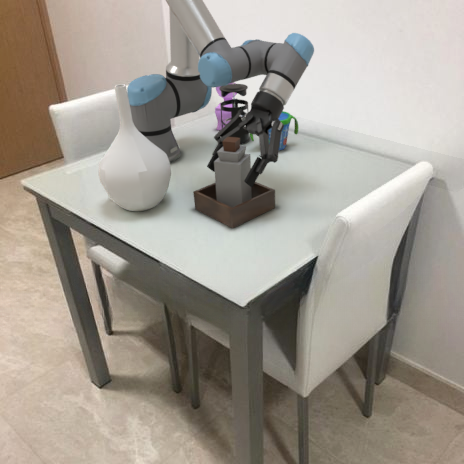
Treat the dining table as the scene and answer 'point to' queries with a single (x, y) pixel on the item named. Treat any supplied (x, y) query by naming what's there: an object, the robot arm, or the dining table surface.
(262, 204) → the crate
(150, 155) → the vase
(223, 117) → the toy chair
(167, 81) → the robot arm
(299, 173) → the dining table surface
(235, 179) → the perfume bottle
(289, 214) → the dining table surface
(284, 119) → the sippy cup
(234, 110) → the french press
